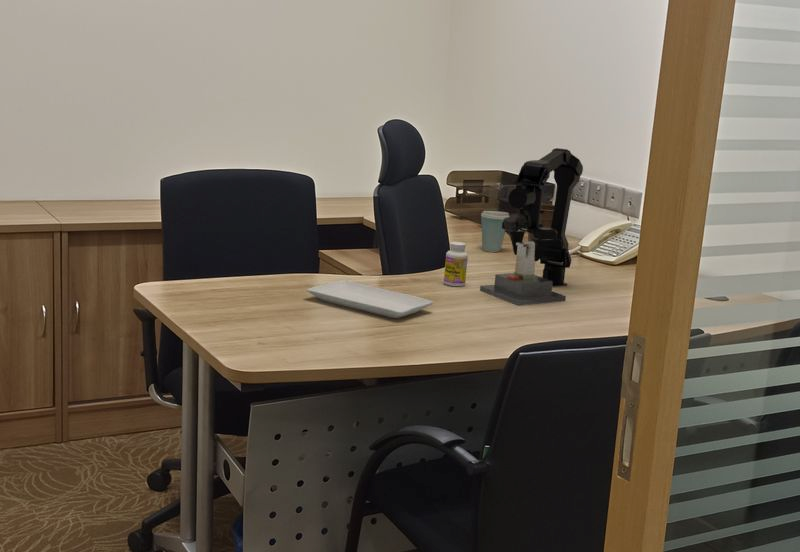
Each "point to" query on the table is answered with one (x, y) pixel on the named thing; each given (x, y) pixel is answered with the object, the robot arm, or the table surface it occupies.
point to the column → (525, 260)
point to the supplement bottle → (456, 265)
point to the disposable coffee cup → (492, 230)
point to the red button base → (522, 290)
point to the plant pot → (544, 219)
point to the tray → (370, 298)
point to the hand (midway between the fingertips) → (526, 257)
